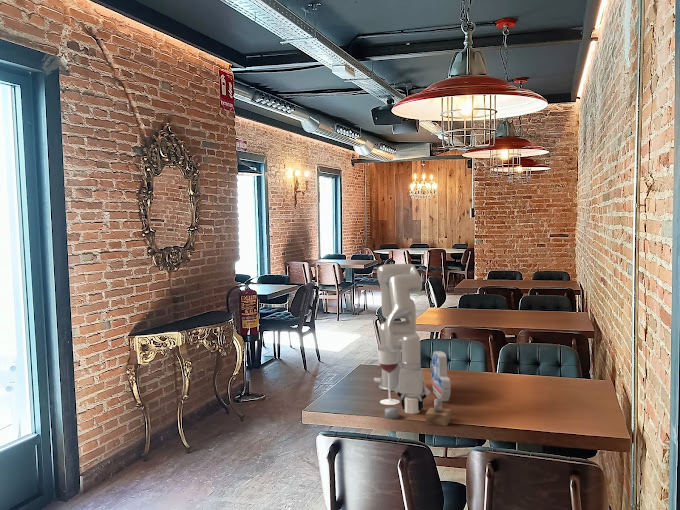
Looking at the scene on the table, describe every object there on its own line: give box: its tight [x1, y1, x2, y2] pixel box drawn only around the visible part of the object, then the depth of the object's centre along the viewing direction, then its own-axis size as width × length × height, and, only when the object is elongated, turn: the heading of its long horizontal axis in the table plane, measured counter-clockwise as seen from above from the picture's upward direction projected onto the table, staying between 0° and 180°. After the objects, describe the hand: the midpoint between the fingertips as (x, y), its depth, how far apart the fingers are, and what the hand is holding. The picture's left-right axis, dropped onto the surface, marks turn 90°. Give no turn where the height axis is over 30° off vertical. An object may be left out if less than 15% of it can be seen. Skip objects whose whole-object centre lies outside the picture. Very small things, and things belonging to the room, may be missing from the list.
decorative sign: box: [430, 350, 452, 403], centre depth 256 cm, size 24×3×20 cm, turn 3°
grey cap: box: [384, 406, 400, 420], centre depth 230 cm, size 6×6×3 cm
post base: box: [425, 398, 452, 426], centre depth 222 cm, size 8×8×8 cm
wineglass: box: [377, 347, 401, 406], centre depth 250 cm, size 9×10×23 cm
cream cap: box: [403, 394, 421, 415], centre depth 236 cm, size 6×6×6 cm
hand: (412, 408), depth 236 cm, fingers closed on cream cap, 6 cm apart
